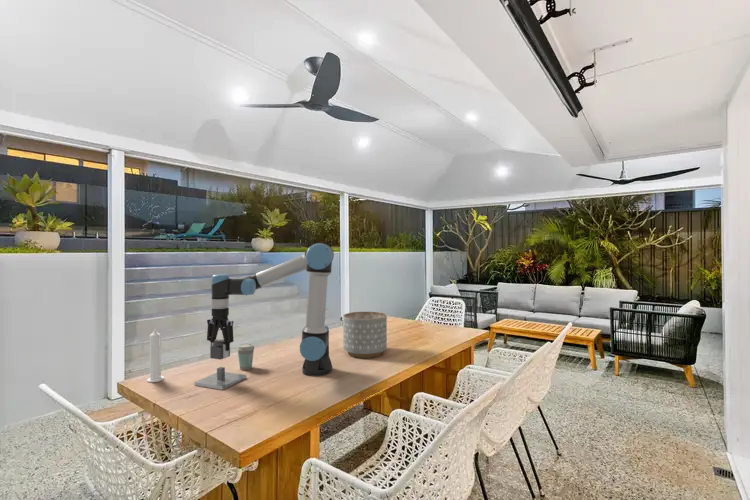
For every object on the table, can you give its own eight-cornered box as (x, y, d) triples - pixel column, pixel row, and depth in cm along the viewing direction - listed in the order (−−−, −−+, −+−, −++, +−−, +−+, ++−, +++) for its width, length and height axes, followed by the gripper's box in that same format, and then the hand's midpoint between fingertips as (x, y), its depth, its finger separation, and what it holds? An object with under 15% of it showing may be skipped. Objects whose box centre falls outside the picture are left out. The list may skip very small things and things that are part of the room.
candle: (167, 378, 188) (166, 326, 188) (154, 383, 181) (154, 329, 181) (156, 376, 190) (155, 325, 190) (143, 381, 184) (142, 328, 183)
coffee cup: (249, 371, 198) (249, 348, 197) (233, 370, 199) (233, 347, 199) (257, 366, 206) (257, 343, 206) (242, 365, 208) (242, 342, 207)
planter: (394, 350, 235) (394, 313, 234) (371, 361, 213) (371, 321, 213) (359, 345, 248) (359, 310, 248) (334, 354, 227) (334, 316, 226)
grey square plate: (246, 378, 188) (246, 364, 188) (222, 389, 173) (222, 375, 173) (219, 374, 194) (219, 361, 193) (194, 385, 179) (194, 371, 179)
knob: (230, 356, 185) (230, 339, 185) (220, 359, 179) (220, 342, 179) (219, 354, 187) (219, 338, 187) (210, 358, 181) (210, 341, 181)
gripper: (242, 307, 183) (242, 356, 183) (210, 304, 190) (210, 352, 190) (231, 310, 176) (230, 361, 176) (198, 307, 183) (198, 356, 183)
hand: (220, 356), depth 183 cm, fingers closed on knob, 6 cm apart
